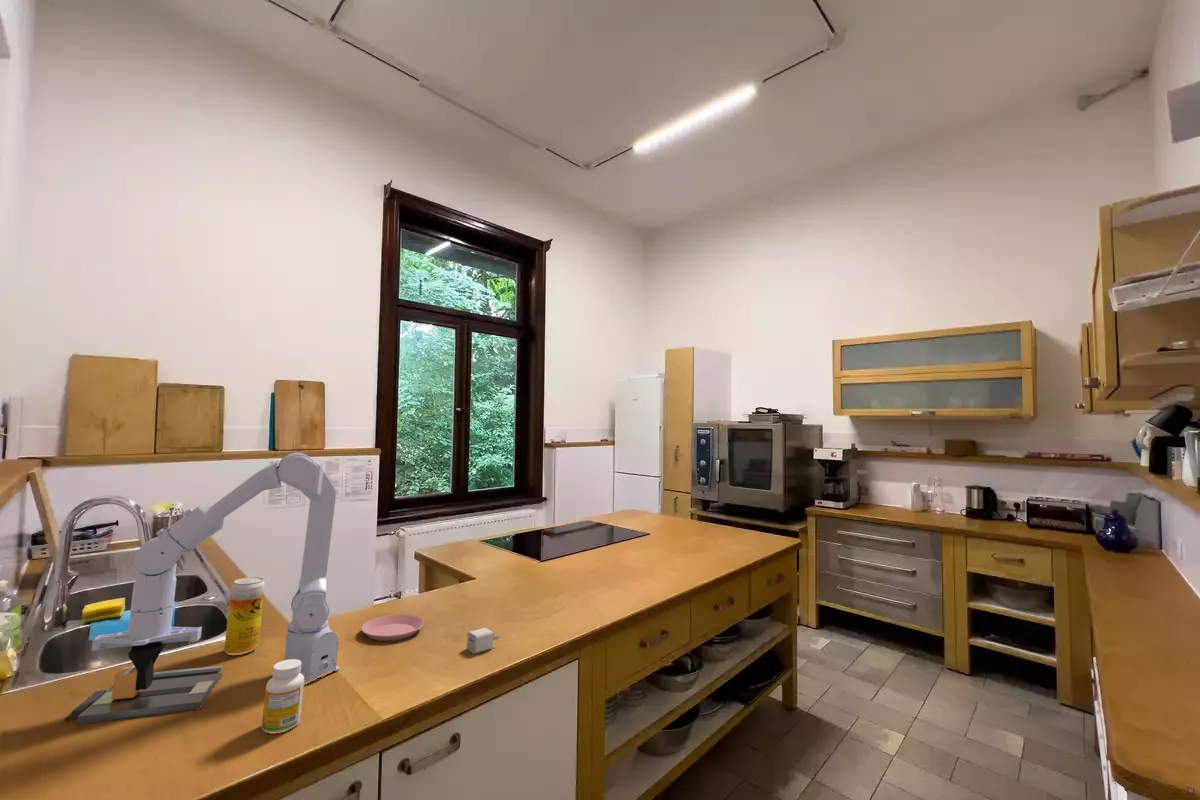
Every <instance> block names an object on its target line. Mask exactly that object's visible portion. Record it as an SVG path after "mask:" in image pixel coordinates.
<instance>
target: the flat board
mask: <svg viewBox="0 0 1200 800" xmlns="http://www.w3.org/2000/svg"><path fill="white" fill-rule="evenodd" d="M223 667H224V665H216V666H215V665H213V666H204V667H195V668H184V669H183V668H182V669H175V670H174V669H172V670H164V671H155V672H154V671H153V679H152V680H161V679H171V678H180V677H190V676H200V675H209V674H218V673H219V672H220V670H221V669H222V668H223ZM222 670H223V669H222ZM107 691H108V689H100V690H96V691H94V692H93V693H92V694H90V695H89V696H88V697H87V698H86V699H84V701H83V702H80V704H79V705H78V706H76V707H75V708H74V709H73V710H71V713H70V720H76V719H77V718H78V716H79V715H80V714H81V713H82V712H83V711H85V710H86V709H87V708H88V707H89V706H90V705H92V704H93V703H94V702H95V701H96V700H97V699H98V698H100V697H101V696H102V695H103V694H104V693H105V692H107Z"/></svg>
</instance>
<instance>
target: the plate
mask: <svg viewBox="0 0 1200 800" xmlns="http://www.w3.org/2000/svg"><path fill="white" fill-rule="evenodd" d="M424 622H425V621H424V619H422V618H421V617H419V616H416V615H412V614H388V615H383V616H377V617H375V618H372V619H370V620H368V621H366V622H364V623H363V624H362V625H361V626H360V629H361V632H362V633H364V634H365V635H366V636H367V637H368V638H369V639H371V640H373V641H379V642H394V641H399V640H403V639H407V638H410V637H411V636H413V635H415V634H416V633H417V632H418V631H419V630H420V629H421V628H422V627H423V626H424V624H425V623H424Z"/></svg>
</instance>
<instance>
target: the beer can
mask: <svg viewBox="0 0 1200 800" xmlns="http://www.w3.org/2000/svg"><path fill="white" fill-rule="evenodd" d="M265 588H266V583H265V581H264V578H263V577H258V576H255V577H253V576H252V577H251V576H250V577H243V578H238V579H235V580H234V581H233V584H232V585H231V586H230V595H229V605H228V612H227V623H226V630H225V631H226V632H225V639H224V650H223V651H224V652H225V653H226V652H227V653H241V652H244V651H249V650H251V649H254V648H256V647H257V646H258V647H259V643H260V635H261V626H262V625H261V624H262V616H263V606H264V596H265ZM256 649H257V648H256ZM227 653H226V654H227Z"/></svg>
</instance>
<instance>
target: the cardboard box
mask: <svg viewBox="0 0 1200 800" xmlns="http://www.w3.org/2000/svg"><path fill="white" fill-rule="evenodd" d="M137 674H138V672H137V670H136V668H135V666H134V665H132V666H126V667H122V668H121V669H120V670H119V671H118V672H117V673H115V674H114V678H113V685H112V686H113V691H112V699H111V700H114V699H123V698H132V697H135V696H136V695H137V694H138V693H139V692H140V691H141V690H136V680H137Z"/></svg>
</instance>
